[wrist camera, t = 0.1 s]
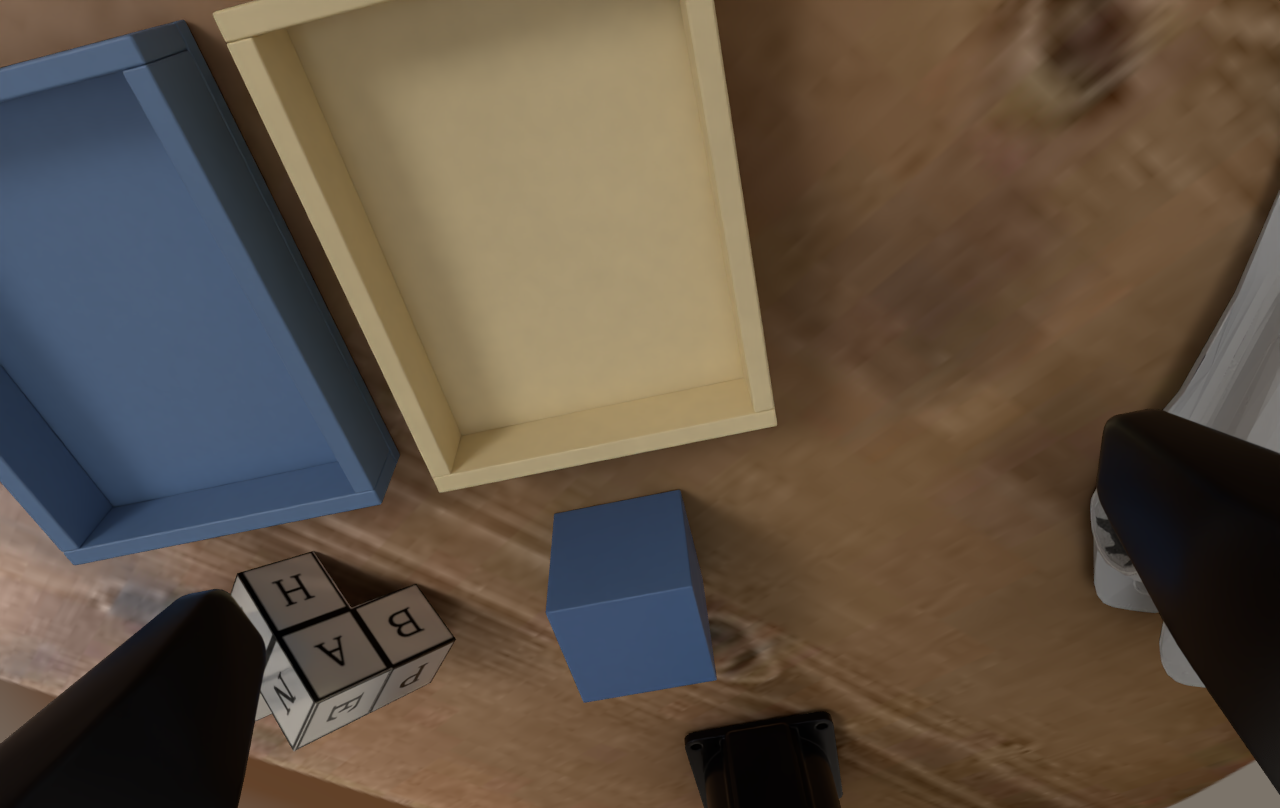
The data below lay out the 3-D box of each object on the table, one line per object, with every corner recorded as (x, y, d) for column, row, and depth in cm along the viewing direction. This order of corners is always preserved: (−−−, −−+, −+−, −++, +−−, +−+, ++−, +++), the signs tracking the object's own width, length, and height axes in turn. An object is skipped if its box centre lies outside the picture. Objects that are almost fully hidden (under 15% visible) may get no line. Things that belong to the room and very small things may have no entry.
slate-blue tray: (401, 455, 25) (382, 505, 23) (116, 513, 26) (73, 566, 24) (185, 18, 18) (130, 34, 16) (-197, 119, 19) (-296, 146, 17)
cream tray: (763, 381, 24) (778, 426, 22) (453, 444, 25) (439, 493, 23) (685, -114, 17) (696, -116, 15) (256, -1, 18) (210, 13, 16)
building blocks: (378, 532, 29) (147, 599, 23) (455, 639, 27) (225, 745, 21) (339, 618, 32) (121, 700, 26) (407, 722, 30) (188, 839, 24)
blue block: (702, 579, 29) (717, 680, 25) (586, 600, 29) (583, 703, 25) (680, 488, 26) (692, 586, 23) (553, 513, 27) (545, 613, 23)
